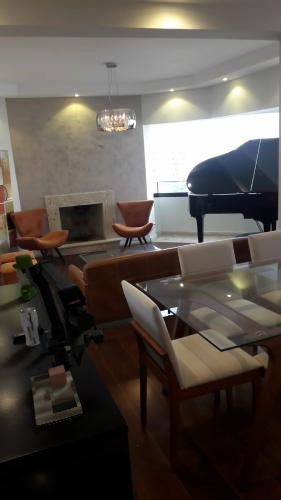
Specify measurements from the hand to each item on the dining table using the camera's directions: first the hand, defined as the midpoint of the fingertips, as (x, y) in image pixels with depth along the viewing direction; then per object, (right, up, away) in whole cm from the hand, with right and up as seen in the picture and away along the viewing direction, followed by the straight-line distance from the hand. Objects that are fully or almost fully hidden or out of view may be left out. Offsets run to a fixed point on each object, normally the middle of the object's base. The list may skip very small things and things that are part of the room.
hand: (79, 365), depth 128 cm
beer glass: (-25, -1, +34) cm, 42 cm away
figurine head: (-46, +11, +100) cm, 110 cm away
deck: (-6, -8, -8) cm, 13 cm away
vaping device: (-17, -2, +25) cm, 30 cm away
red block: (-7, -5, -2) cm, 8 cm away
